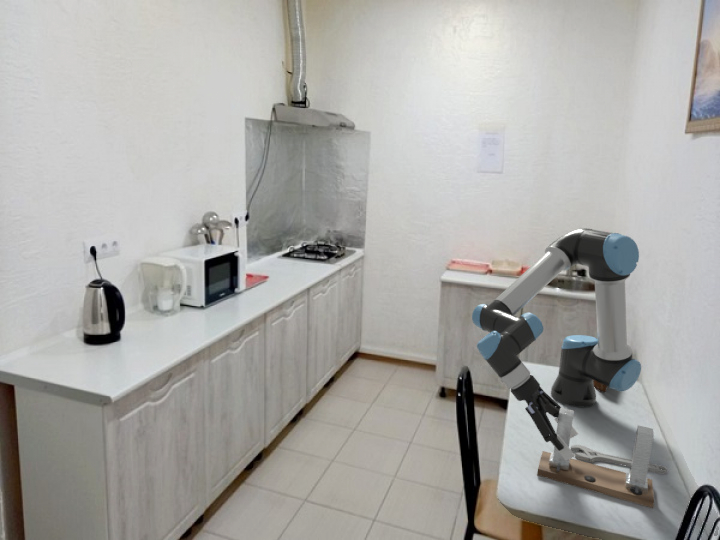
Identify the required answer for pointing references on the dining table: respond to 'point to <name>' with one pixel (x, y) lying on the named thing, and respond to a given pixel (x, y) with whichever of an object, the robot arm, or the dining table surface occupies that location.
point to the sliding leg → (564, 433)
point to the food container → (599, 386)
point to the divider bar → (595, 480)
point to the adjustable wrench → (610, 458)
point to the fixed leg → (640, 460)
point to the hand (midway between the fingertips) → (572, 446)
